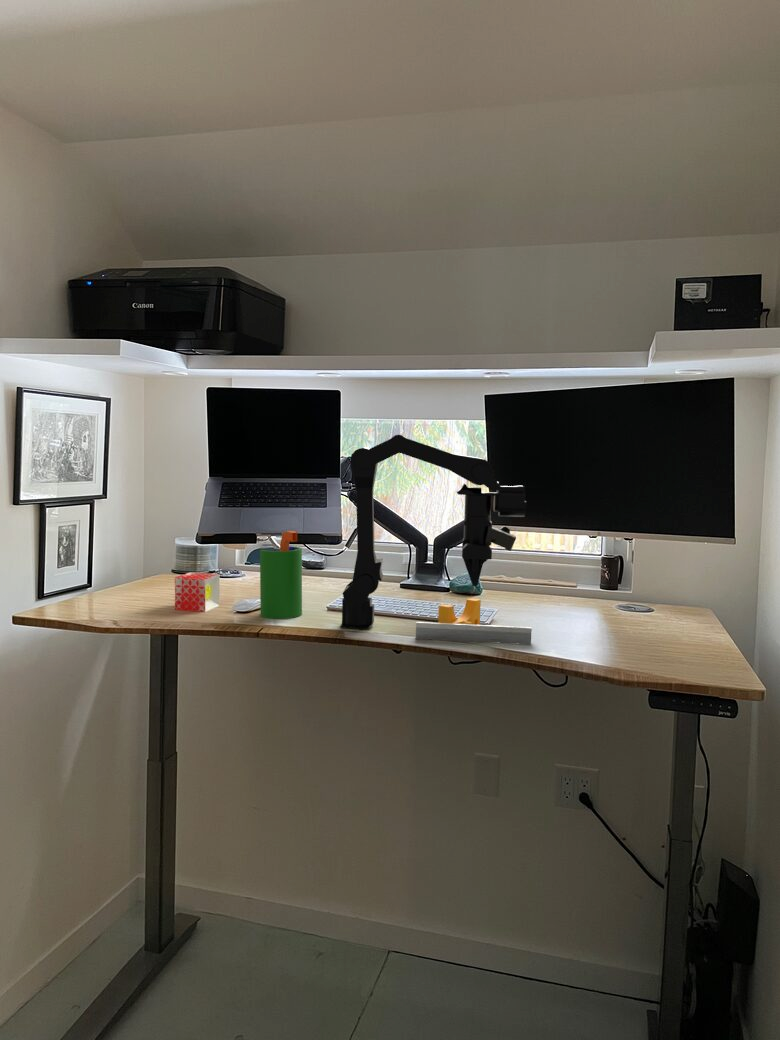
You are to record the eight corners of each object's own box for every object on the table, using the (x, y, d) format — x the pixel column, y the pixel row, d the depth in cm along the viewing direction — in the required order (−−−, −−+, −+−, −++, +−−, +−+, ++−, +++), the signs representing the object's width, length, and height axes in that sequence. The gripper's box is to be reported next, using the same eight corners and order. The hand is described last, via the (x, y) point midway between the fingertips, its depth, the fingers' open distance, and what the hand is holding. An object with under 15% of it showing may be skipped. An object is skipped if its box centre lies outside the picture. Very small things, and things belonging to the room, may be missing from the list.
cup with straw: (276, 608, 194) (277, 527, 192) (309, 612, 191) (310, 529, 189) (255, 616, 185) (255, 531, 183) (289, 620, 182) (290, 533, 180)
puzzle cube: (205, 612, 189) (205, 579, 188) (174, 610, 190) (174, 577, 190) (219, 605, 197) (219, 574, 196) (190, 603, 198) (190, 572, 197)
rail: (415, 638, 167) (416, 622, 167) (416, 636, 169) (416, 620, 169) (530, 644, 165) (531, 628, 164) (530, 642, 167) (531, 626, 166)
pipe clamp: (453, 638, 170) (454, 608, 169) (437, 634, 172) (438, 605, 172) (486, 629, 178) (487, 601, 178) (470, 626, 181) (471, 598, 181)
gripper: (517, 521, 164) (514, 595, 166) (512, 513, 183) (509, 580, 184) (463, 519, 165) (460, 593, 167) (463, 511, 184) (461, 578, 185)
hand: (474, 585), depth 176 cm, fingers closed
